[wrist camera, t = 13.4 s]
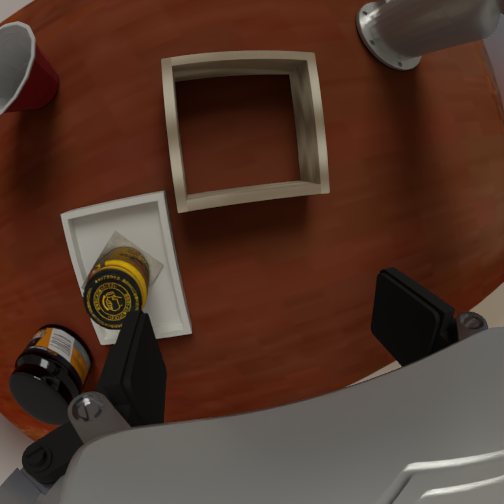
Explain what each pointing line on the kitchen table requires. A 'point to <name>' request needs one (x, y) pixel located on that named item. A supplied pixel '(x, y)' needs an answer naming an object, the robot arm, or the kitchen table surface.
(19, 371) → the supplement container
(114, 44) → the kitchen table surface
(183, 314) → the tray
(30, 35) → the plastic cup
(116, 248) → the condiment
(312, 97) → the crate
